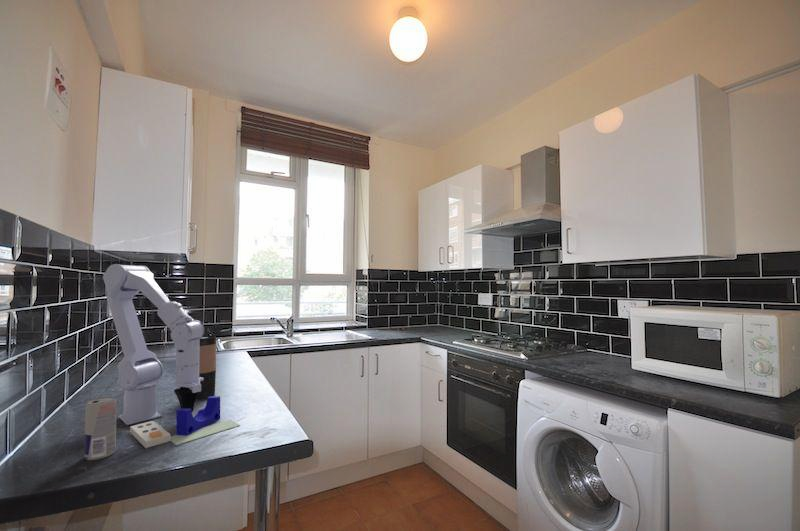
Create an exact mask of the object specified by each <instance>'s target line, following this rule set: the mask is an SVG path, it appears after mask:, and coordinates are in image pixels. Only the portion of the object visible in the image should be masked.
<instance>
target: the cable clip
mask: <svg viewBox="0 0 800 531" xmlns="http://www.w3.org/2000/svg"><path fill="white" fill-rule="evenodd" d="M220 419H221V396H218V395H217V396H216V395H214V396H210V397H208V398H207V399H206V403H205V407H203V408H201V409H198V411H197V413H196V414H195V415H194V416H193V412H192V410H191V409H186V408H179V409H176V418H175V420H176V422H175V424H176V429H175V430H176V431H175V432H176V433H175V436H176V435H186V436H187V435H189V434H191V433H193V432H195V431H197V430H198V429H200V428H203V427H206V426H209V425H210V424H212V423H214V422H216V421H218V420H220Z"/></svg>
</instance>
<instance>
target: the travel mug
mask: <svg viewBox="0 0 800 531" xmlns="http://www.w3.org/2000/svg"><path fill="white" fill-rule="evenodd" d="M216 342H217V337H216V335H203V336H202V338H200V352H199V377H202V378H204V380H203V381H200V384H201V391H200V392H199V394H198V396H197V398H196V401H205V400H207V398H208V397H210V396H216V395H215V394H216V378H217V376H216V374H217V343H216Z"/></svg>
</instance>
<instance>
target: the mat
mask: <svg viewBox="0 0 800 531" xmlns="http://www.w3.org/2000/svg"><path fill="white" fill-rule="evenodd" d="M240 426H241V425H240V424H239V423H237V422H236V421H234V420H232V419H227V420H224V421H220V422H218V423H213V424H211V425H210V424H209V425H206V426H204V427H202V428H200V429H198V430H197V431H195V432H193V433H191V434H189V435H187V436H186V435H176V434H175V435H173V436H170V441H169V442H171V443H172V444H173V445H175V446H179V445H182V444H185V443H189V442H193V441H195V440H198V439H201V438H204V437H207V436H211V435H215V434H218V433H221V432H224V431H227V430H231V429H233V428H237V427H240Z"/></svg>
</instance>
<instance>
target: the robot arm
mask: <svg viewBox="0 0 800 531" xmlns="http://www.w3.org/2000/svg"><path fill="white" fill-rule="evenodd" d="M154 277H155V276H154V273H153V272H152V271H150V269H149V267H147V266H146V265H140V264H139V265H129V264H119V263H114V264H110V265H109V266H108V267H107V269H106V270H105V272H104V273H103V275H102V279H103V282H104V283H103V284H104V285H105V289H106V300H107V303H108V306H109V310H110V313H111V317H112V319H113V323H114V326H115V330H116V334H117V337H118V339H119V340H118V341H119V344H120V346H121V349H122V352H123V358H122V359H121V360H120V361H119V363H118V364H117V365H116V366H117V372H118V374H117V380H118V384H119V386H120V387H121V388H122V390H124V394H123V409H122V410H123V411H122V412H123V414H121V415H119V416H118V418H119V419H120V420H121V421H122V422H124V424H125V425H127V426H129V425H133V424H137V423H141V422H145V421H146V422H147V421H149V420H154V419H157V418H161V417H162V415H161V414H160V412H158V411H157V384H159V380H160V379H161V378H162V377H163V374H164V365H163V363H162V362H161V361H160V360H159V359H158V356H157V354H156V353H155V352H153V351H151V350H149V349H148V348H147V343H146V340H145V336H144V335H143V331H142V328H141V325H140V321H139V318H138V315H137V312H136V308H135V305H134V303H133V298H134V297H135V296H136V295H138V293H142V294H143V296H145V297H146V298H147V299H148V300H149V301H150V302H151V303H152V304H153V305H154V306H155V307H156V308H157V316H158V317H159V318H160V319H161V321H162V322H163V323H164V324H165V325H166V327H168V329H169V330H170V331H171V332H170V338H171V340H172V341H173V344H174V348H175V377H174V386H175V387H178V388H176V389H173V392H174V393H175V395H176V398H177V399H178V403H179V407H180V408H179V409H181V408H186V409H191V410H192V413H193V411H194V408H195V404H196V401H197V400H196V398H197V396H198V394H199V392H200V391H201V384H200V381H203V380H204V378H202V377H199V352H200V338H202V336H205V335H204V334H205V326H204V325H203V322H202V321H200V320H197V319H194V318H193V317H192V316H191V315H189V313H188V312H186V310H185V309H184V308H183V304H181V303H180V302H177V301H175V300H174V301H171V300H170V299H169V298H168V296H167V295H166V294H165V292H164V291H163V289H162V288H161V287H160V286H159V284H158V283H157V282H156V280H155V278H154Z"/></svg>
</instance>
